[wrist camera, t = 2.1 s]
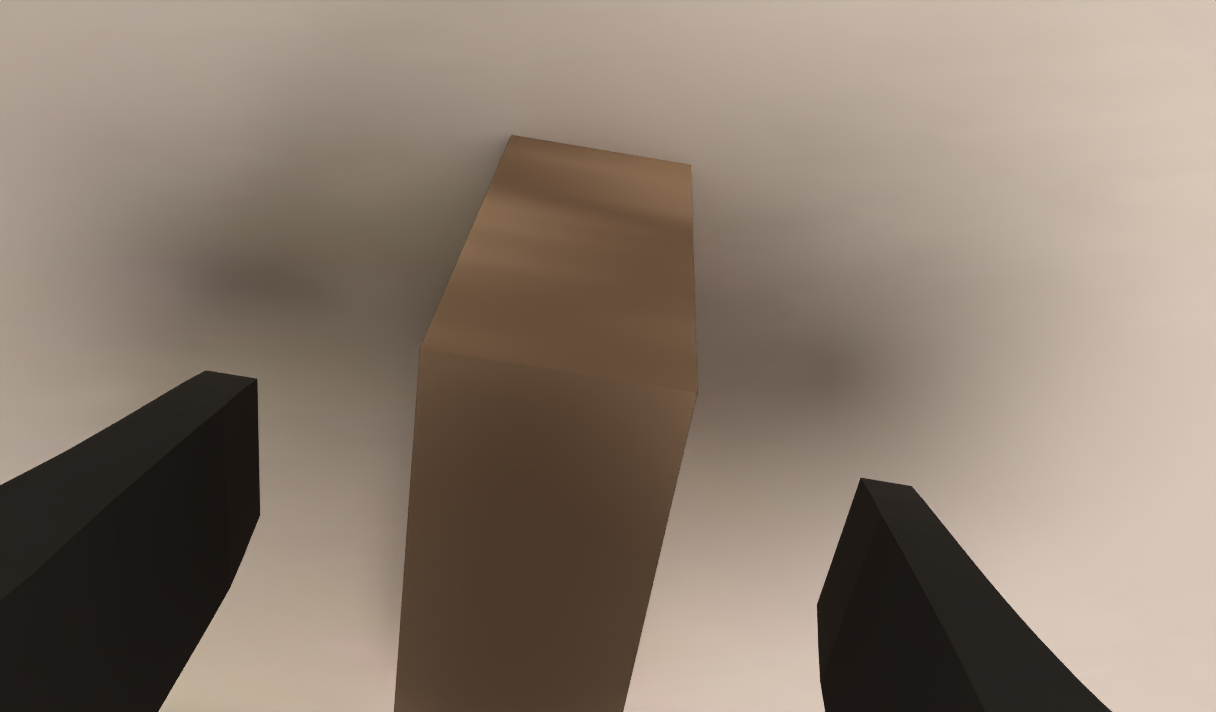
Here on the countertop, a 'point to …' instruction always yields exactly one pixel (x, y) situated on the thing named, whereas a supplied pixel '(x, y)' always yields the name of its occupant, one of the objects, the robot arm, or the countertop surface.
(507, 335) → the wooden plank piece
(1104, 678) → the countertop surface
